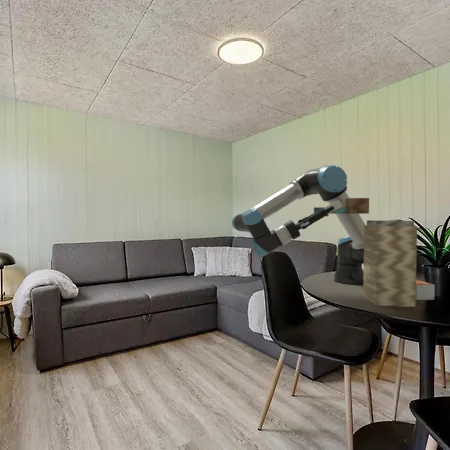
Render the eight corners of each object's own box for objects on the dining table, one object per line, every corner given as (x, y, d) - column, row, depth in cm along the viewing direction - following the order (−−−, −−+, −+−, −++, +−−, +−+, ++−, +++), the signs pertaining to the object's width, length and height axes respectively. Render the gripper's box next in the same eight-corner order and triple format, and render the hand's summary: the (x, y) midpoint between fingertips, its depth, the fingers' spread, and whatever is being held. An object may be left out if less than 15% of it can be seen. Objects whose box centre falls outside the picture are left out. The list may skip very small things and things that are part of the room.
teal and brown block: (315, 213, 119) (316, 198, 118) (312, 213, 126) (312, 199, 125) (368, 213, 117) (369, 197, 116) (362, 213, 124) (362, 198, 123)
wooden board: (376, 305, 114) (377, 220, 113) (363, 295, 128) (364, 220, 127) (415, 306, 112) (417, 221, 111) (398, 296, 126) (399, 220, 125)
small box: (411, 277, 135) (435, 284, 122) (411, 291, 135) (434, 300, 122) (394, 278, 134) (416, 284, 121) (394, 292, 134) (416, 300, 121)
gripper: (290, 238, 131) (339, 211, 129) (294, 241, 116) (350, 211, 113) (281, 223, 131) (330, 196, 129) (284, 224, 116) (340, 193, 113)
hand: (339, 203), depth 121 cm, fingers closed on teal and brown block, 2 cm apart
